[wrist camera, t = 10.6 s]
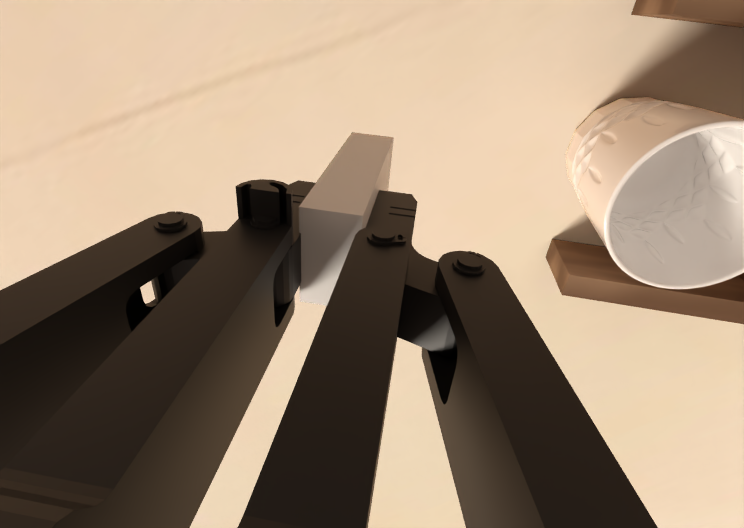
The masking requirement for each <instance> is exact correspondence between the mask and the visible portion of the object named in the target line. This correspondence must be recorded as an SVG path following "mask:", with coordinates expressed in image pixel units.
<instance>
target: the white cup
mask: <svg viewBox="0 0 744 528" xmlns="http://www.w3.org/2000/svg"><path fill="white" fill-rule="evenodd" d="M566 165H567V176H568V178H569V180H570V181H571V183H572V185H573V186H574V188H575V191H576V194H577V197H578V199H579V201H580V203H581V205H582V206H583V208H584V210H585V212H586V214H587V216H588V218H589V220H590V222H591V223H592V225H593V226H594V228H595V230H596V231H597V233H598V235H599V236H600V238H601V240H602V241H603V243H604V245H605V247H606V248H607V250H608V252H609V253H610V255H611V257H612V259H613V260H614V261H615V263H616V264H617V265H618V266H619V267H620V268H621V269H622V270H623V271H624V272H625V273H626V274H628V275H629V276H631V277H632V278H634V279H636V280H638V281H640V282H643V283H645V284H648V285H651V286H655V287H660V288H667V289H691V288H699V287H705V286H709V285H713V284H717V283H720V282H723V281H726V280H729V279H731V278H733V277H736V276H738V275H740V274H742V273H744V119H741V118H737V117H733V116H729V115H726V114H722V113H718V112H714V111H711V110H707V109H703V108H699V107H694V106H689V105H684V104H680V103H676V102H669V101H660V100H657V99H653V98H650V97H641V98H620V99H618V100H616V101H614V102H612V103H610V104H607V105H605V106H603V107H601V108H599V109H597V110H595V111H593V113H592V114H591V115H590V116H589V117H588V118H587V119H586V120H585V121H584V122H583V123H582V124H581V125H580V126H579V127H578V128H577V129H576V130H575V132H574V134H573V137H572V139H571V142H570V144H569V147H568V149H567V152H566Z"/></svg>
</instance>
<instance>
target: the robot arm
mask: <svg viewBox="0 0 744 528" xmlns="http://www.w3.org/2000/svg"><path fill="white" fill-rule="evenodd" d="M393 138H394V137H385V136H377V135H369V134H361V133H353V132H352V133H351V135H350V136H349V137H348V139H347V140H346V142H345V143H344V144H343V146H342V147H341V149H340V150H339V151H338V153H337V154H336V156H335V157H334V158H333V160H332V161H331V163H330V164H329V165H328V167H327V168H326V170H325V171H324V172H323V174H322V175H321V177H320V178H319V179H318V181H317V182H316V183H313V182H305V181H296V182H294V183H292V184H289V185H287V184H285V183H283V182H280V181H275V180H263V179H262V180H251V181H247V182H243V183H241V184H239V185H237V186H236V195H237V206H238V217H239V219H238V220H237V221H236V222H235V223H234V224H233V225H232V226H231V227H230V228H229V229H228V230H227V231H216V232H203V226H202V221H201V220H200V218H199V217H197V216H195V215H193V214H188V213H183V212H176V213H175V212H167V213H165V214H159V215H156V216H153V217H151V218H148V219H146V220H144V221H142V222H140V223H138V224H136V225H134V226H132V227H130V228H128V229H126V230H123V231H121V232H119V233H117V234H115V235H113V236H111V237H109V238H107V239H105V240H103V241H101V242H99V243H97V244H95V245H93V246H91V247H89V248H87V249H84V250H82V251H80V252H78V253H76V254H74V255H72V256H70V257H68V258H66V259H64V260H62V261H60V262H58V263H56V264H54V265H52V266H50V267H48V268H45V269H43V270H41V271H39V272H37V273H35V274H33V275H31V276H29V277H27V278H25V279H23V280H21V281H19V282H17V283H15V284H13V285H11V286H9V287H6V288H4V289H2V290H0V528H189V527H190V525H191V523H192V521H193V519H194V517H195V515H196V513H197V511H198V509H199V507H200V505H201V503H202V501H203V499H204V497H205V495H206V492H207V490H208V488H209V486H210V484H211V482H212V480H213V478H214V476H215V474H216V472H217V470H218V468H219V466H220V464H221V462H222V460H223V457H224V455H225V453H226V451H227V449H228V447H229V445H230V443H231V441H232V439H233V437H234V435H235V433H236V431H237V429H238V427H239V425H240V422H241V420H242V418H243V416H244V414H245V412H246V410H247V408H248V406H249V404H250V402H251V400H252V398H253V396H254V394H255V392H256V390H257V387H258V385H259V383H260V381H261V379H262V377H263V375H264V373H265V371H266V369H267V367H268V365H269V363H270V361H271V359H272V357H273V355H274V352H275V350H276V348H277V346H278V344H279V342H280V340H281V338H282V336H283V334H284V332H285V330H286V328H287V326H288V324H289V322H290V320H291V317H292V315H293V313H294V308H295V303H294V295H295V293H296V291H297V289H298V287H299V285H300V302H306V303H313V304H319V305H325V306H327V307H326V309H325V312H324V314H323V317H322V319H321V322H320V325H319V327H318V330H317V332H316V335H315V337H314V340H313V342H312V345H311V347H310V350H309V352H308V355H307V357H306V360H305V362H304V365H303V367H302V370H301V372H300V375H299V377H298V380H297V382H296V385H295V387H294V390H293V392H292V395H291V397H290V400H289V402H288V405H287V407H286V410H285V412H284V415H283V417H282V420H281V422H280V425H279V427H278V430H277V432H276V435H275V437H274V440H273V442H272V445H271V447H270V450H269V452H268V455H267V457H266V460H265V462H264V465H263V467H262V470H261V472H260V475H259V477H258V480H257V482H256V485H255V487H254V490H253V492H252V495H251V498H250V500H249V503H248V505H247V508H246V510H245V513H244V515H243V517H242V519H241V522H240V524H239V526H238V528H368V522H369V516H370V509H371V503H372V496H373V490H374V483H375V477H376V470H377V464H378V457H379V451H380V445H381V438H382V432H383V425H384V419H385V412H386V406H387V399H388V393H389V387H390V380H391V374H392V367H393V361H394V354H395V349H396V342H397V337H399V338H401V339H404V340H406V341H408V342H411V343H413V344H416V345H418V346H420V347H422V359H423V363H424V366H425V370H426V374H427V378H428V382H429V386H430V390H431V394H432V397H433V401H434V405H435V409H436V413H437V417H438V421H439V425H440V428H441V432H442V436H443V440H444V444H445V448H446V452H447V456H448V459H449V463H450V467H451V471H452V475H453V479H454V483H455V487H456V490H457V494H458V498H459V502H460V506H461V510H462V514H463V518H464V521H465V525H466V528H658V527H657V526H656V524H655V522H654V521H653V519H652V517H651V516H650V514H649V513H648V511H647V509H646V508H645V506H644V504H643V503H642V501H641V500H640V498H639V496H638V495H637V493H636V491H635V490H634V488H633V486H632V485H631V483H630V482H629V480H628V478H627V477H626V475H625V473H624V472H623V470H622V468H621V467H620V465H619V464H618V462H617V460H616V459H615V457H614V455H613V454H612V452H611V450H610V449H609V447H608V446H607V444H606V442H605V441H604V439H603V437H602V436H601V434H600V433H599V431H598V429H597V428H596V426H595V424H594V423H593V421H592V419H591V418H590V416H589V415H588V413H587V411H586V410H585V408H584V406H583V405H582V403H581V401H580V400H579V398H578V397H577V395H576V393H575V392H574V390H573V388H572V387H571V385H570V384H569V382H568V380H567V379H566V377H565V375H564V374H563V372H562V370H561V369H560V367H559V366H558V364H557V362H556V361H555V359H554V357H553V356H552V354H551V352H550V351H549V349H548V348H547V346H546V344H545V343H544V341H543V339H542V338H541V336H540V334H539V333H538V331H537V330H536V328H535V326H534V325H533V323H532V321H531V320H530V318H529V317H528V315H527V313H526V312H525V310H524V308H523V307H522V305H521V303H520V302H519V300H518V299H517V297H516V295H515V294H514V292H513V290H512V289H511V287H510V285H509V284H508V282H507V281H506V279H505V277H504V276H503V274H502V272H501V271H500V269H499V267H498V266H497V265H496V264H495V263H494V262H493V261H492V260H490V259H488V258H486V257H485V256H483V255H481V254H478V253H477V254H476V253H475V252H471V251H468V252H466V251H454V252H449V253H446V254H444V255H442V257H441V258H440V259H439V262H436V261H433V260H431V259H428V258H426V257H424V256H422V255H421V254H419V253H418V252H417V251H416V250H415V249H414V248H413V246H412V235H413V228H414V221H415V214H416V208H417V201H416V200H415V198H414V197H413V196H412V194H405V193H397V192H390V191H388V185H389V176H390V166H391V157H392V147H393ZM149 281H152V286H153V290H154V295H155V299H154V300H153V301H151V302H150V303H147V304H145V303H144V301H143V298H142V294H141V290H140V287H141V286H143V285H144V284H146V283H147V282H149Z"/></svg>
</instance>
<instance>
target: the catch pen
mask: <svg viewBox="0 0 744 528" xmlns="http://www.w3.org/2000/svg"><path fill="white" fill-rule="evenodd" d="M631 15H640V16H648V17H657V18H665V19H674V20H683V21H691V22H700V23H708V24H717V25H726V26H734V27H743V28H744V0H636V3H635V5H634V8H633V11H632V14H631ZM546 259H547V261H548V264H549V266H550V268H551V271H552V273H553V275H554V278H555V280H556V282H557V285H558V287H559V289H560V292H561V294H562V295H566V296H572V297H578V298H585V299H591V300H597V301H603V302H610V303H616V304H622V305H628V306H634V307H641V308H647V309H653V310H659V311H665V312H672V313H678V314H684V315H690V316H696V317H703V318H709V319H715V320H721V321H728V322H734V323H740V324H744V273H742V274H740V275H738V276H736V277H733V278H731V279H729V280H726V281H723V282H720V283H717V284H713V285H709V286H705V287H699V288H691V289H667V288H660V287H655V286H651V285H648V284H645V283H643V282H640V281H638V280H636V279H634V278H632V277H631V276H629V275H628V274H626V273H625V272H624V271H623V270H622V269H621V268H620V267H619V266H618V265H617V264H616V263H615V261H614V260H613V259H612V257H611V255H610V253H609V252H608V250H607V248H606V247H602V246H595V245H589V244H582V243H575V242H569V241H562V240H556V239H552V241H551V244H550V246H549V249H548V252H547V255H546Z"/></svg>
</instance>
